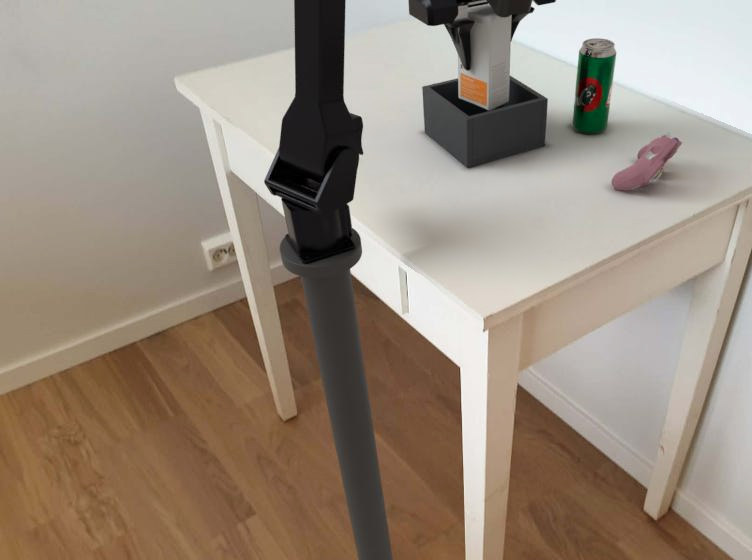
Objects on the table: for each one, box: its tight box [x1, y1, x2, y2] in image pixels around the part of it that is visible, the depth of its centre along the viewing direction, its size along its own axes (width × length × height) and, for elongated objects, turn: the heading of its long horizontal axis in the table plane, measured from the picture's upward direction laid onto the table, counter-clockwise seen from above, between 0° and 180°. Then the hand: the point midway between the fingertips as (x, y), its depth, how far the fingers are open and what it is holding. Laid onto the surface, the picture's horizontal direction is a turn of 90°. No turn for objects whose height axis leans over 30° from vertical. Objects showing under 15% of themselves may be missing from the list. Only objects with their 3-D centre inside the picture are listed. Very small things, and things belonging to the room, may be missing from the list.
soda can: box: [571, 37, 617, 135], centre depth 102 cm, size 5×5×12 cm
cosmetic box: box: [457, 4, 512, 111], centre depth 96 cm, size 6×4×12 cm
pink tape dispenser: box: [611, 132, 683, 191], centre depth 93 cm, size 10×5×7 cm, turn 147°
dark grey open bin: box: [421, 75, 549, 169], centre depth 102 cm, size 13×13×7 cm
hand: (483, 65), depth 97 cm, fingers closed on cosmetic box, 5 cm apart
